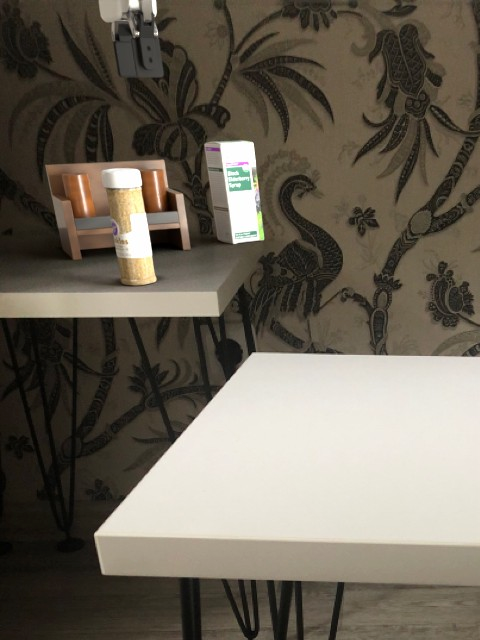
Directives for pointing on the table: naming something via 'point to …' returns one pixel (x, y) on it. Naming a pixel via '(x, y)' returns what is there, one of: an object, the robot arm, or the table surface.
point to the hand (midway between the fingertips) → (140, 77)
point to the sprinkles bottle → (129, 225)
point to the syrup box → (234, 191)
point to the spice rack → (93, 208)
